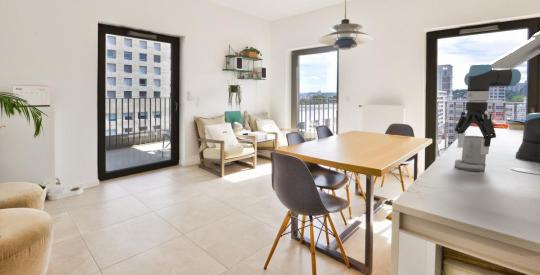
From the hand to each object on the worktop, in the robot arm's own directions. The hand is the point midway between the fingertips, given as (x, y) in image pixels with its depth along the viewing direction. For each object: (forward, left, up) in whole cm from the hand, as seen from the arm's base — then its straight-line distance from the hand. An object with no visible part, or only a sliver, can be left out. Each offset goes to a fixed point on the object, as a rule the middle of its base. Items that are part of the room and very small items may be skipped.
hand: (471, 150), depth 124 cm
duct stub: (0, 0, -8) cm, 8 cm away
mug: (0, +1, -5) cm, 5 cm away
